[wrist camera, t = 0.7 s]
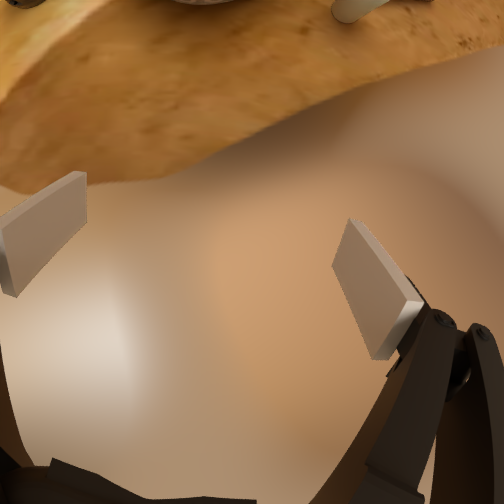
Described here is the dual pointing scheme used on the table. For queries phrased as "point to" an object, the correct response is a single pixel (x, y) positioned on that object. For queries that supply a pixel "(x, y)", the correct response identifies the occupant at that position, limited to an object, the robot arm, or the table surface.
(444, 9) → the table surface
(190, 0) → the planter
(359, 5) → the banded green cylinder
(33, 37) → the table surface
